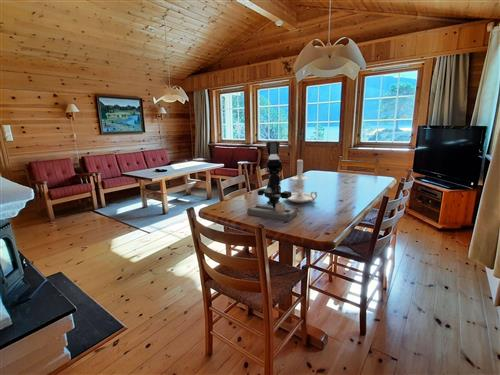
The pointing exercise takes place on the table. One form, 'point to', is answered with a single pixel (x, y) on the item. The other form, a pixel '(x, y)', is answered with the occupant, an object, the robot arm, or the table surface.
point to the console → (271, 212)
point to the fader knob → (280, 207)
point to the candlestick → (301, 187)
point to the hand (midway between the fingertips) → (274, 208)
